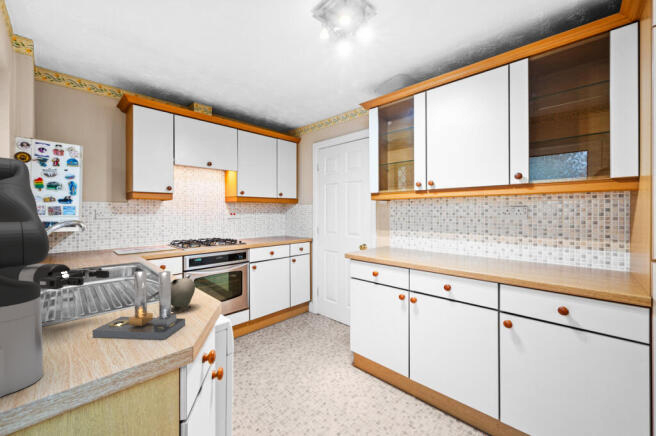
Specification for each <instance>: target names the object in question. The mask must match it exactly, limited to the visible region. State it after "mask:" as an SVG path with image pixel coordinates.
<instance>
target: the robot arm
mask: <svg viewBox="0 0 656 436" xmlns="http://www.w3.org/2000/svg"><path fill="white" fill-rule="evenodd" d="M30 178H31V177H30V170H29V167H28V165H27V164H26V163H25V162H24V161H23V160H19V159H16V158H11V157H10V158H9V157H2V156H1V157H0V398H1V397H4V396H6V395H9V394H12V393H15V392H18V391H20V390H23V389H25V388H27V387H29V386H31V385H33V384H35V383H36V382H38V381H39V380H41V378H42V377H43V376H44V362H43V361H44V360H43V359H44V358H43V357H44V355H43V354H44V353H43V329H42V327H43V325H42V321H43V320H42V295H41V294H42V291H41V290H54V291H55V290H56V291H57V290H60V289H62V288H64V287H65V288H66V287H69V286H73V287H74V286H77V287H81V286H84V284H85V281H89V280H91V279H107V278H110V271H109V270H103V269H102V268H101V267H83V268H82V269H79V268H78V269H77V268H73V269H71V268H70V267H69V266H68V265H67V264H63V263H42V262H43V261H45V259H46V258H47V257H48V255H49V251H50V240H49V239H50V238H49V235H48V233H47V230H46V228H45V226H44V223H43V221H42V219H41V218H40V216H39V213H38V212H39V211H38V206H37V202H36V198H35V195H34V193H33V190H32V187H31V179H30Z"/></svg>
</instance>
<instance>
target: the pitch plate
mask: <svg viewBox="0 0 656 436" xmlns="http://www.w3.org/2000/svg"><path fill="white" fill-rule="evenodd" d="M171 278H172V277H171V271H168V270H166V271H159V272H158V291H159V294H158V299H159V302H158V304H159V305H158V314H159V315H158V316H157V317H153V320H151V321H150V322H148V323H146V324H144V325H143V326H134V325H129V318H131V317H132V316H120V317H118V318H115V319H113V320H111V321H109V322H108V323H105V324H103V325H101V326H99V327H96V328H94V329H92V338H101V339H102V338H104V339H126V340H127V339H129V340H131V339H132V340H133V339H134V340H157V341H159V340H160V341H165V340H166V339H167V338H169V337H170V336H172V335H173V334H175V333H176V332H178V331H179V330H181V329H182V328H183V327H185V326H186V318H178V317H177V314H175V313H171V309H172V305H171V282H172V280H171Z"/></svg>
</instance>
